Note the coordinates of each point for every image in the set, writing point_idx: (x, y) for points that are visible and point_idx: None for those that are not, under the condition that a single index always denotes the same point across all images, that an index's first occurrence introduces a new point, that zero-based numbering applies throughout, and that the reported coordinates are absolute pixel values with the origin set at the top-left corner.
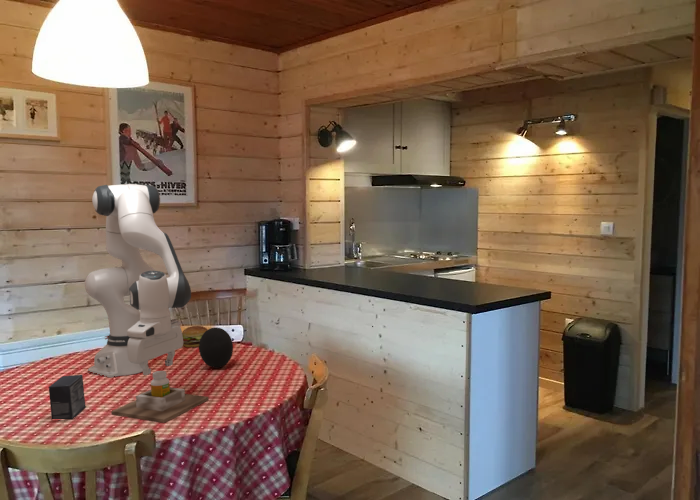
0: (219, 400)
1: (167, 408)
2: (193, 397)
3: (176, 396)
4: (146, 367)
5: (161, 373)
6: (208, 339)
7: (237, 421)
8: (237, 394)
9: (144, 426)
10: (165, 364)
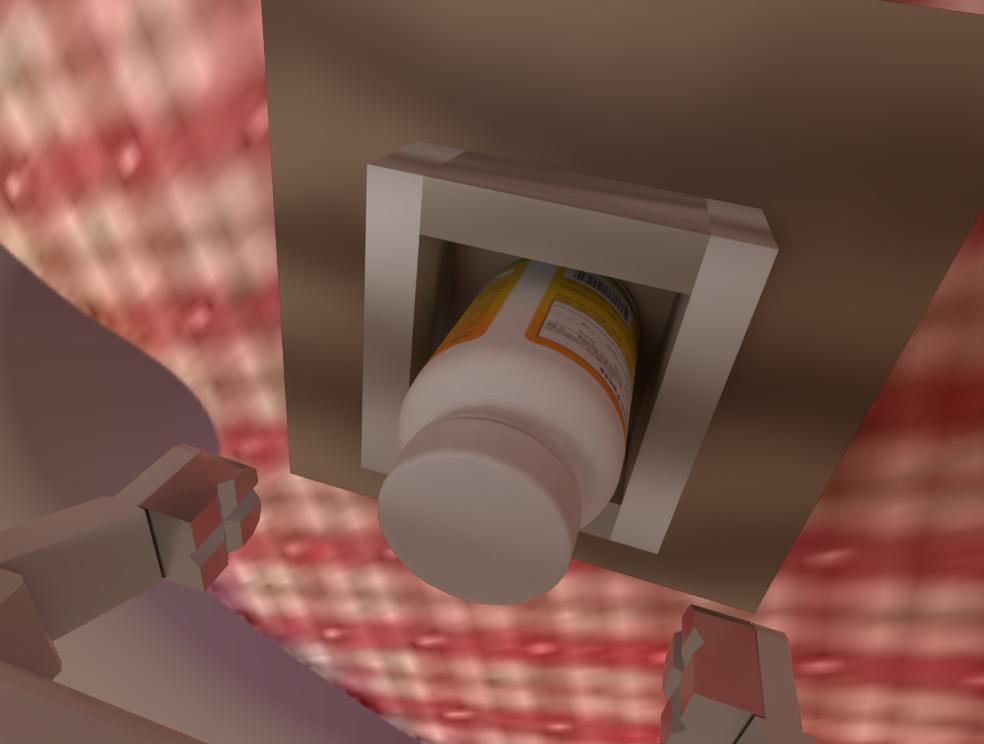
0: None
1: None
2: (736, 522)
3: None
4: (84, 599)
5: (437, 571)
6: None
7: (435, 739)
8: (882, 729)
9: (219, 371)
10: (688, 622)
